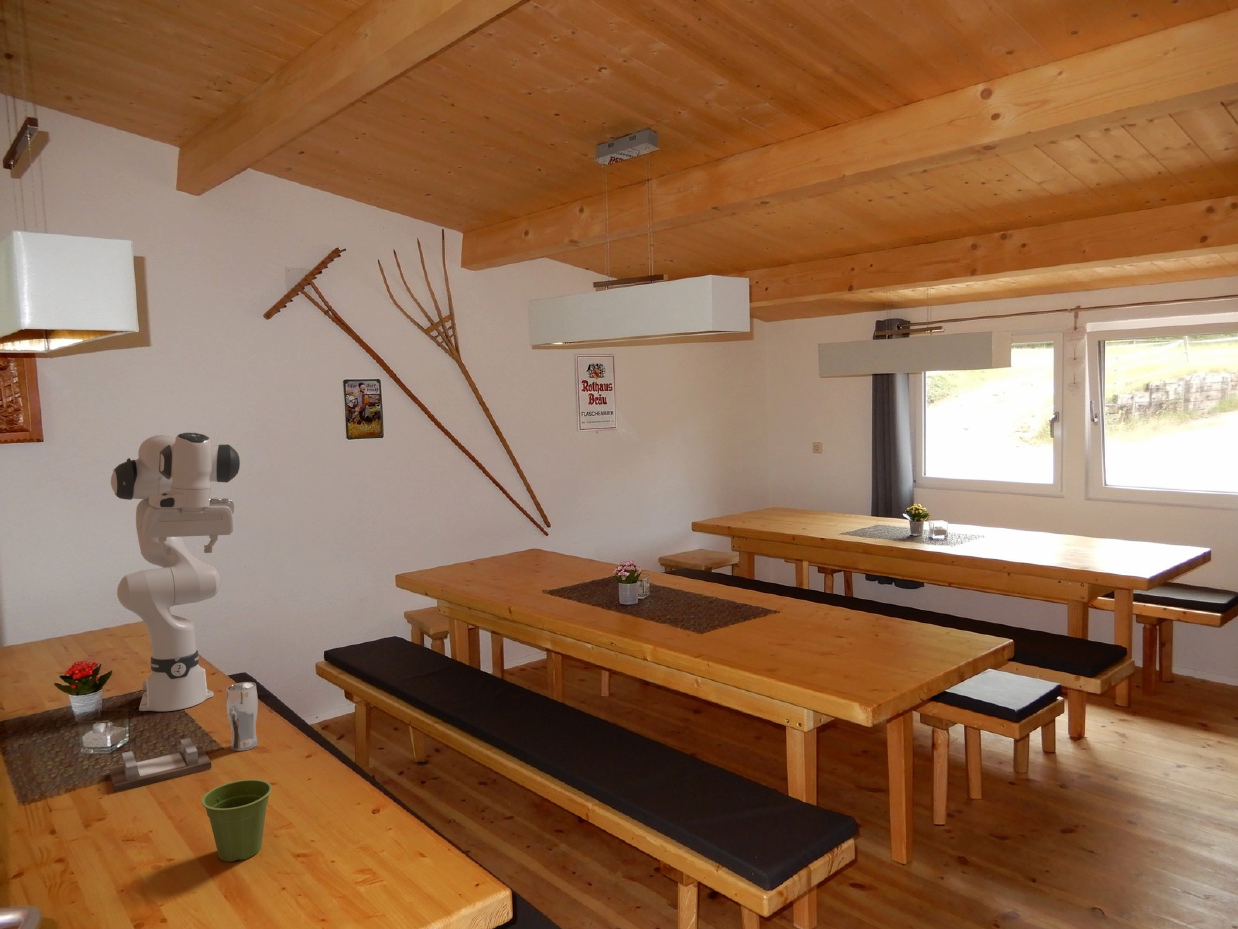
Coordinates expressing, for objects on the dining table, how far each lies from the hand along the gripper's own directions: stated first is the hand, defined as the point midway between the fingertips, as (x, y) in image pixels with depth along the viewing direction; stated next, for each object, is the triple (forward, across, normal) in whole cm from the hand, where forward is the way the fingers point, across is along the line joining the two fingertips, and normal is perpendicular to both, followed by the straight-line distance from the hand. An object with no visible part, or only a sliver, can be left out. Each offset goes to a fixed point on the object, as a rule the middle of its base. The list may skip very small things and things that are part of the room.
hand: (187, 553), depth 206 cm
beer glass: (+45, -10, +19) cm, 50 cm away
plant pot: (+42, +6, +70) cm, 82 cm away
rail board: (+46, +8, +20) cm, 51 cm away
